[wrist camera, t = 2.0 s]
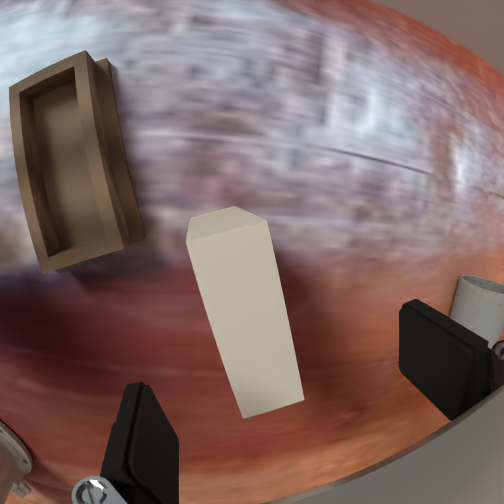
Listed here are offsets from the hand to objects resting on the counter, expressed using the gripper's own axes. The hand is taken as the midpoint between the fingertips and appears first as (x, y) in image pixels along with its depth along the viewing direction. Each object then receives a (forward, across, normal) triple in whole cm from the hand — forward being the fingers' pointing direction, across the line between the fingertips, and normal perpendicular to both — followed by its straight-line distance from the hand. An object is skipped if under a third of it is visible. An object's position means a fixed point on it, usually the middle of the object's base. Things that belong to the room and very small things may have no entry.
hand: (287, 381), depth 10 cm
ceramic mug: (+16, -26, +12) cm, 33 cm away
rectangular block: (+15, +1, 0) cm, 15 cm away
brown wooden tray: (+15, +11, -12) cm, 22 cm away
